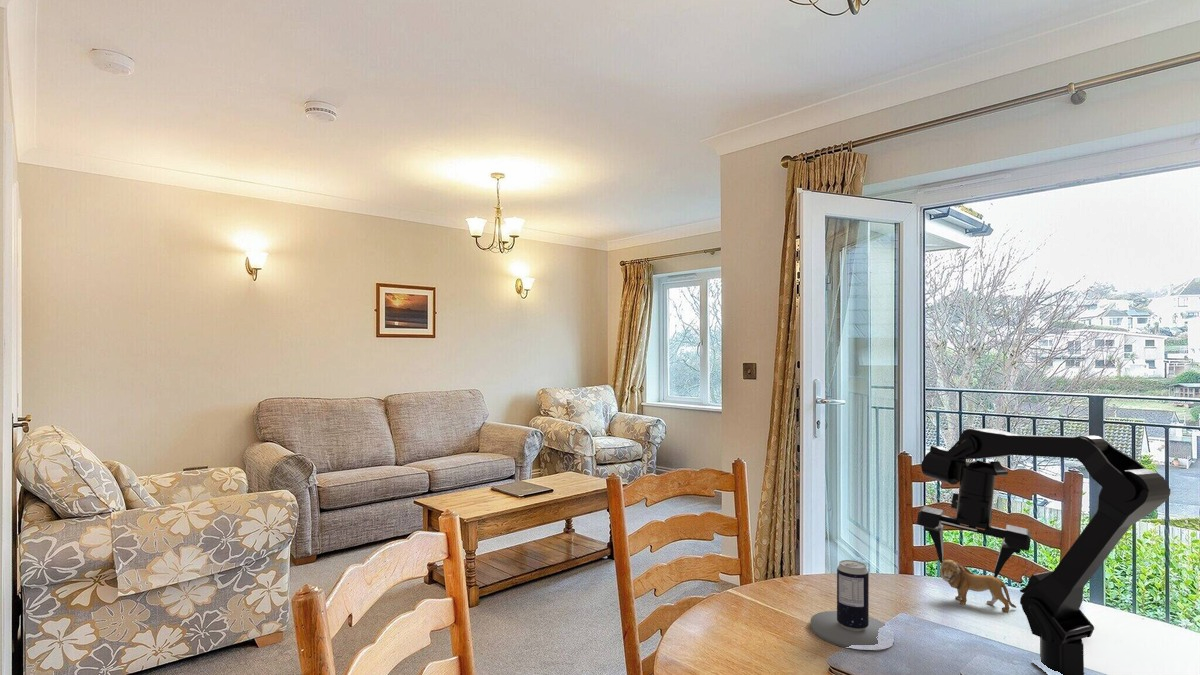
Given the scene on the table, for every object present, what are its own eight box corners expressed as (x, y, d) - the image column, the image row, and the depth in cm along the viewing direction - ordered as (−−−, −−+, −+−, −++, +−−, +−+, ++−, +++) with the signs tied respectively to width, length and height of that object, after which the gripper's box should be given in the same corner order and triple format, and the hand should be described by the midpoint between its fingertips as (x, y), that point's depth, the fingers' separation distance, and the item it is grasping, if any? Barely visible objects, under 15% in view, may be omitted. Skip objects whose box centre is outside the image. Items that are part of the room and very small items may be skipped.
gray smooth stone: (907, 654, 109) (907, 647, 110) (821, 647, 111) (821, 641, 111) (878, 619, 124) (878, 613, 124) (803, 614, 126) (803, 608, 126)
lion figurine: (941, 603, 134) (942, 562, 134) (937, 595, 139) (937, 555, 139) (1020, 614, 129) (1019, 571, 129) (1012, 605, 134) (1012, 564, 134)
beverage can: (875, 631, 116) (875, 567, 116) (849, 634, 114) (849, 569, 115) (855, 619, 121) (855, 558, 122) (830, 622, 120) (830, 560, 120)
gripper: (1034, 494, 120) (1025, 571, 121) (928, 473, 131) (921, 544, 132) (1034, 507, 111) (1024, 590, 112) (920, 484, 122) (912, 559, 123)
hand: (967, 569), depth 120 cm, fingers open, 9 cm apart
